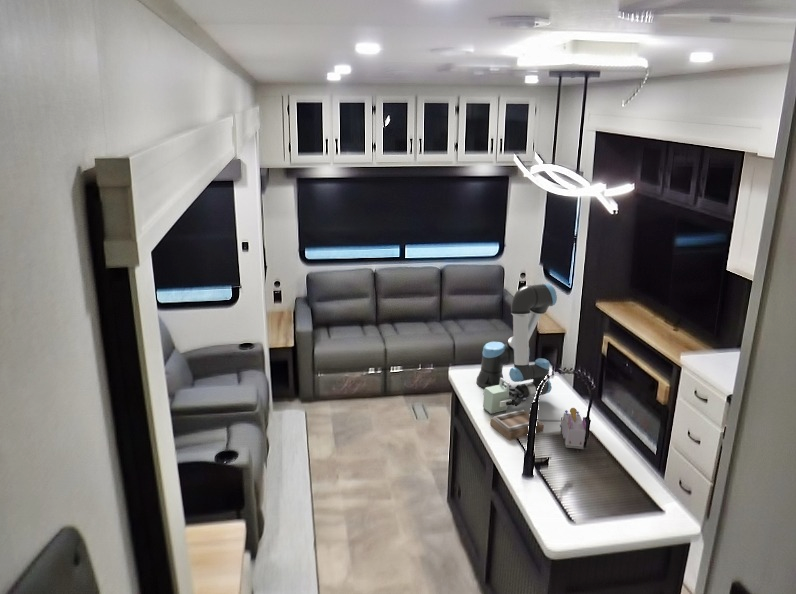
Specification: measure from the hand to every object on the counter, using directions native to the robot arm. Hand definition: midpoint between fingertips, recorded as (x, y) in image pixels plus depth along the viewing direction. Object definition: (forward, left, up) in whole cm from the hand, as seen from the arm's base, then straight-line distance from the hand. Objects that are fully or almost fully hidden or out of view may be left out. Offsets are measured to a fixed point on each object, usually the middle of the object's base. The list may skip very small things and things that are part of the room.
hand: (491, 398), depth 313 cm
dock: (-2, +19, -8) cm, 20 cm away
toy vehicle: (-19, +38, -8) cm, 43 cm away
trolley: (-3, 0, -8) cm, 8 cm away
